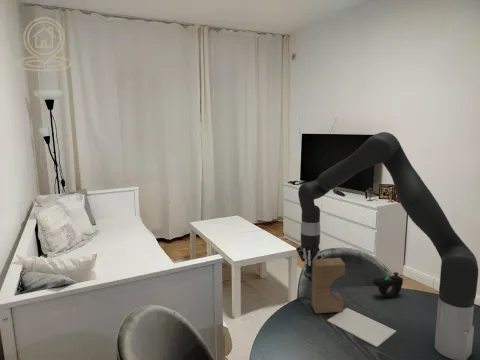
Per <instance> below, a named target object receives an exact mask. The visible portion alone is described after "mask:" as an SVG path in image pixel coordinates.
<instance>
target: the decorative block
mask: <svg viewBox="0 0 480 360" xmlns="http://www.w3.org/2000/svg"><path fill="white" fill-rule="evenodd" d="M345 275H346V263H345V262H344V261H343V259H342V258H341V257H334V258H332V257H330V258H323V259H313V263H312V274H311V279H312V280H311V307H312V309H313V311H314V314H317V315H318V314H327V313H340V312H343V310H344V309H345V308H344V306H345V305H344V304H345V303H344V302H345V300H344V299H343V298H342V296H341V295H340V293H338V292H333V291H331V290H330V289H331V285H332V284H333V282H334V281H336V279H338V278H340V277H343V276H345Z"/></svg>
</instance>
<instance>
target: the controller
mask: <svg viewBox="0 0 480 360" xmlns="http://www.w3.org/2000/svg"><path fill="white" fill-rule="evenodd" d="M399 275H400V273H399V272H396V271H394V272H393V275H391V276H386V277H379V278H375V279H374V280H373V282H372V283H373V285H374V286H376V287H378V288H377V289H378V291H379V293H380V294H381V295H382V296H384V297H386V298H388V299H389V298H391V299H392V298H395V297H397V296H398V295H399V294H400V292H401V290H402V287H403V283H404V282H403V281H404V279H403V277H401V276H399ZM390 287H391V290H390V291H388V289H389V288H390Z"/></svg>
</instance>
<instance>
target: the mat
mask: <svg viewBox="0 0 480 360" xmlns="http://www.w3.org/2000/svg"><path fill="white" fill-rule="evenodd" d="M326 321H327V322H328V323H331V324H332V325H334V326H336V327H338V328H340V329H342V330H344V331H345V332H347V333H349V334H351V335H353V336H355V337H357V338H359V339H360V340H362V341H364V342H365V343H368V344H370V345H371V346H373V347H376V348H378V347H379V346H380V345H382V344H383V343H384V342H386V341H387V340H389V338H391V337H392V336H393V335H394V334H395V333H397V330H395V329H394V328H391V327H389V326H387V325H384V324H383V323H380V322H378V321H376V320H375V319H372V318H369V317H368V316H365V315H363V314H362V313H358V312H357V311H355V310H352V309H350V308H348V307H345V308H344V309H343V312H337V313H336V314H335V315H333V316H331V317H330V318H328V319H327V320H326Z"/></svg>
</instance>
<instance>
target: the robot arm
mask: <svg viewBox="0 0 480 360" xmlns="http://www.w3.org/2000/svg"><path fill="white" fill-rule="evenodd" d="M380 164H383V166H384V167H385V169H386V170H387V171H388V173H389V175H390V177H391V179H392V182H393V185H394V189H395V192H396V195H397V198H398V202H399V203H400V205H401V207H402V208H403V209H404V211H405V213H406V214H407V216H408V217H409V218H410V220H411V221H412V223H414V224H415V226H417V228H418V229H420V230H421V231H422V232H423V233H424V234H425V235H426V236H427V237H428V239H429V240H430V242H431V243H432V245H433V246H434V248H435V249H436V251H437V253H438V255H439V258H440V259H441V260H440V261H441V263H440V276H439V286H438V287H439V288H438V298H437V299H438V300H437V314H436V324H435V325H436V327H435V336H434V337H435V339H434V349H435V350H436V351H437V352H438V353H439V354H440V355H441V356H443V357H446V358H448V359H451V360H468V359H469V357H471V355H472V354H473V352H472V351H473V344H474V332H475V331H474V330H475V325H473V318H474V309H475V301H476V297H477V296H476V295H477V290H478V289H477V288H478V279H479V266H478V261H477V257H476V256H475V253H473V251H472V250H471V249H470V248H469V247H468V246H467V244H466V243H465V242H464V241H463V240H462V239H461V237H460V236H459V235H458V234H457V233H456V231H455V229H454V228H453V226H452V225H451V223H450V222H449V219H448V217H447V216H446V214H445V212H444V211H443V209H442V207H441V206H440V204H439V202H438V201H437V199H436V197H435V196H434V194H432V192H431V190H430V189H429V188H428V186H427V185H426V183H425V181H423V179H422V178H421V176H420V174H419V173H418V172H417V171H416V170H415V168H414V167H413V165H412V163H411V162H410V160H409V158H408V157H407V154H406V153H405V151H404V149H403V146H402V145H401V143H400V141H399V140H398V138H397V137H396V136H395V135H394V134H392V133H390V132H388V131H387V132H386V131H383V132H379V133H375V134H374V135H372V136H370V137H369V138H367V139H366V140H365V142H363V143H362V144H361V145H360V146H359V147H358V148H357V149H356V150H355V151H354V152H353V153H352V154H350V155H349V156H347V157H345V158H344V159H342V160H340V161H339V162H337V163H336V164H334V165H332V166H331V167H329V168H327V169H326V170H324V171H323V172H321V174H319V175H318V177H317V178H316V179H315V180H313V181H308V182H304V183H302V184H301V185H300V186H299V188H298V191H297V194H298V202H299V204H300V207H301V208H300V209H301V222H300V246H299V247H296V252H297V254H298V256H299V258H300V260H301V262H304V264H305V273H306V274H308V275H312V263H313V259H325V254H323V253H321V252H320V251H321V249H320V243H321V209H320V207H319V206H318V205H315V200H317V199H321V198H322V197H323V196H325V195H327V194H328V193H329V192H330V191H331V190H334V189H335V188H338V186H340V185H342V184H344V183H345V182H347V181H348V180H350V179H351V178H352V177H353V176H355V175H356V174H358V173H360V172H361V171H364V170H365V169H369V168H371V167H374V166H376V165H380Z"/></svg>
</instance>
